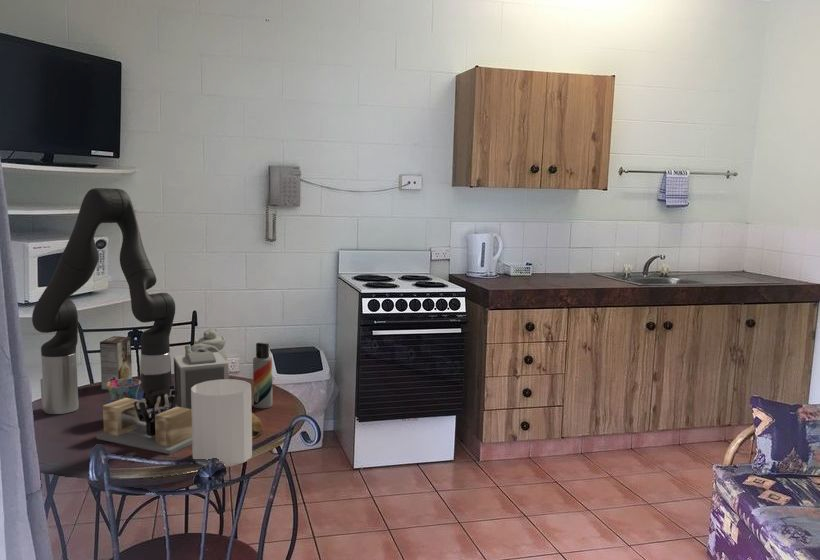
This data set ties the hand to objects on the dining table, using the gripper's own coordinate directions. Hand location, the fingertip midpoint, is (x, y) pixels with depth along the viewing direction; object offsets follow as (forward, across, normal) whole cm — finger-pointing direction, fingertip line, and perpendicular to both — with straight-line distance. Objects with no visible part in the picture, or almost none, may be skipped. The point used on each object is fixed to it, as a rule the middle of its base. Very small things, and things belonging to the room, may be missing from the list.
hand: (157, 432), depth 184 cm
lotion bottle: (+2, -37, +7) cm, 38 cm away
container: (+3, +1, +22) cm, 22 cm away
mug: (+3, -11, -22) cm, 25 cm away
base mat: (+2, 0, -3) cm, 4 cm away
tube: (0, 0, -3) cm, 3 cm away
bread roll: (+3, -14, +17) cm, 22 cm away
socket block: (+2, 0, +6) cm, 6 cm away
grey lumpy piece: (+2, -47, -24) cm, 53 cm away
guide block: (+1, 0, -12) cm, 13 cm away
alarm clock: (+3, -23, -5) cm, 24 cm away
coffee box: (+3, -33, -49) cm, 59 cm away
